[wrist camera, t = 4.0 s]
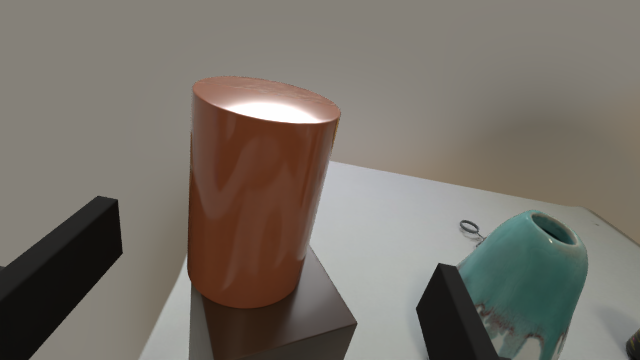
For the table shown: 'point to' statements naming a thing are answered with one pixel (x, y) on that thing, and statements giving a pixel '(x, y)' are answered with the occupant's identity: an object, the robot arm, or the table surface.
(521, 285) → the vase
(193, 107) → the orange glossy cylinder
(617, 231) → the table surface
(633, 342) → the supplement container
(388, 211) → the table surface
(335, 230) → the table surface
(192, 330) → the dark brown rectangular block
